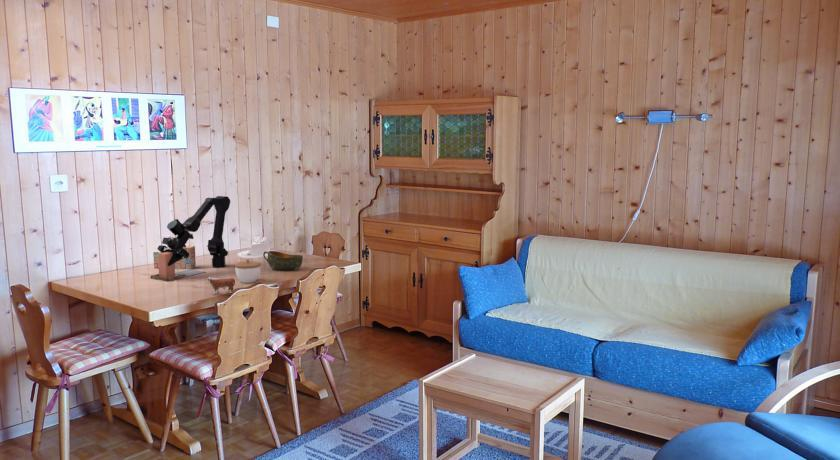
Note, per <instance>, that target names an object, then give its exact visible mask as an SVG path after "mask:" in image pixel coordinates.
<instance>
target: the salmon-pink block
mask: <svg viewBox="0 0 840 460" xmlns="http://www.w3.org/2000/svg"><path fill="white" fill-rule="evenodd" d="M172 255H173V253H171V252H164V253H158V265H159V268H158V274H159V276H160V277H165V278H170V277H174V276H176V275H175V273H176V269H175V263H174V264H172V265H170V266H168V263H169V261H170V259H171V257H172Z"/></svg>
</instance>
